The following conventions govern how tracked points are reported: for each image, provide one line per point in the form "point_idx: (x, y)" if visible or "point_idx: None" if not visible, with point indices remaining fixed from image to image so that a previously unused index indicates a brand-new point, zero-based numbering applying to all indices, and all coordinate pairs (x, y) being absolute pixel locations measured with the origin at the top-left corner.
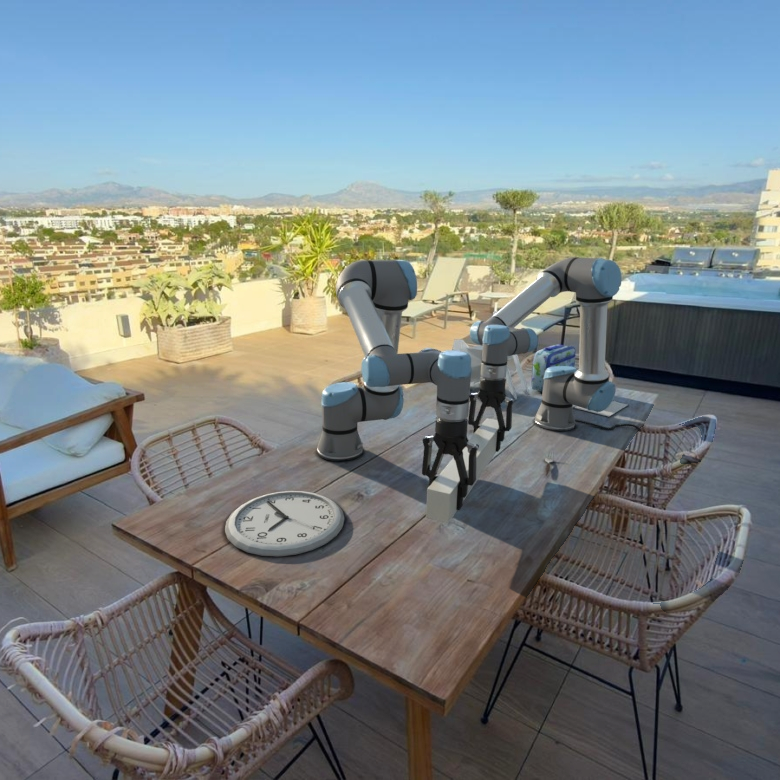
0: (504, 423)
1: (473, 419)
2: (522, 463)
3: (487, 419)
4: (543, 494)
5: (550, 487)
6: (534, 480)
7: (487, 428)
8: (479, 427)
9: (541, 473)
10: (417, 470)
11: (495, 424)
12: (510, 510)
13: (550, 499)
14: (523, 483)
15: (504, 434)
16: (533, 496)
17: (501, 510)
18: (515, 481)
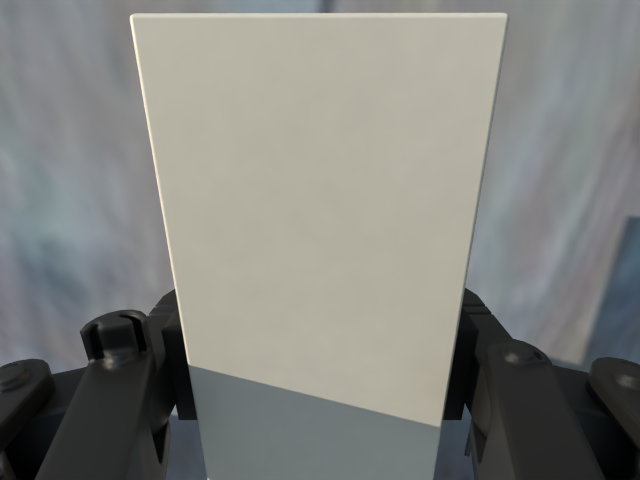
0: (575, 420)
1: (19, 425)
2: (507, 30)
3: (176, 94)
4: (595, 331)
5: (636, 261)
6: (567, 225)
7: (312, 451)
8: (210, 461)
9: (613, 126)
10: (51, 356)
11: (381, 280)
12: (470, 465)
13: (618, 355)
14: (513, 276)
15: (498, 331)
16: (552, 360)
17: (442, 474)
18: (476, 274)
